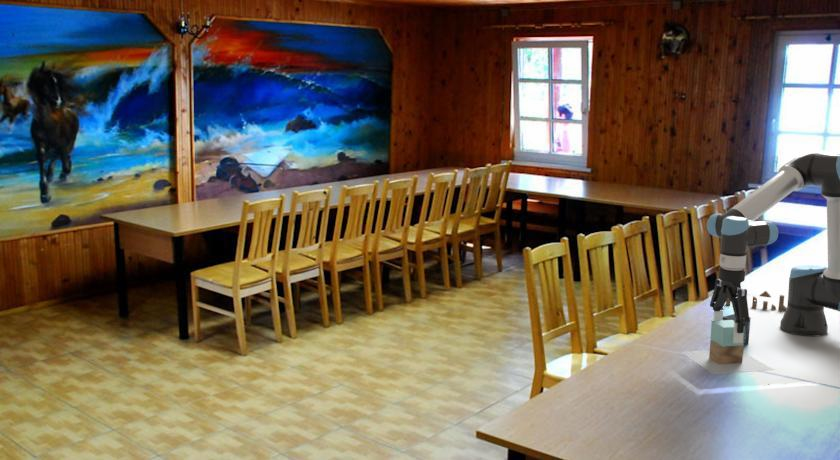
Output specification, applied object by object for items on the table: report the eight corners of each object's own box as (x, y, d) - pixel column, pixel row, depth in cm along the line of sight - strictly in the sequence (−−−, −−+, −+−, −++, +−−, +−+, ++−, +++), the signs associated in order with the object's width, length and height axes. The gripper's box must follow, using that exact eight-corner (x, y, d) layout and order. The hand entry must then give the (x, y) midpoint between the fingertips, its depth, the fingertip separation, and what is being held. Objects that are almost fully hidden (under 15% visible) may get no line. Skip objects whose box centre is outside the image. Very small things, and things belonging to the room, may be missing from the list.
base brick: (732, 356, 256) (733, 338, 255) (742, 362, 251) (743, 344, 249) (709, 358, 254) (710, 340, 253) (718, 364, 249) (719, 345, 248)
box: (733, 351, 264) (735, 320, 262) (718, 347, 269) (721, 316, 267) (748, 347, 268) (751, 316, 266) (734, 343, 273) (736, 312, 271)
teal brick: (730, 338, 255) (732, 319, 254) (743, 345, 249) (744, 326, 247) (710, 339, 254) (711, 321, 253) (722, 346, 247) (723, 327, 246)
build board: (736, 351, 264) (737, 348, 264) (773, 373, 245) (773, 369, 245) (680, 355, 261) (680, 352, 260) (712, 377, 241) (712, 374, 241)
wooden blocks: (809, 313, 309) (811, 294, 307) (809, 315, 306) (812, 296, 305) (726, 303, 321) (727, 285, 319) (725, 305, 318) (727, 287, 317)
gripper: (701, 259, 258) (697, 326, 262) (742, 277, 235) (737, 349, 239) (722, 258, 259) (718, 324, 263) (765, 276, 236) (760, 348, 240)
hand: (727, 336), depth 251 cm, fingers open, 11 cm apart
